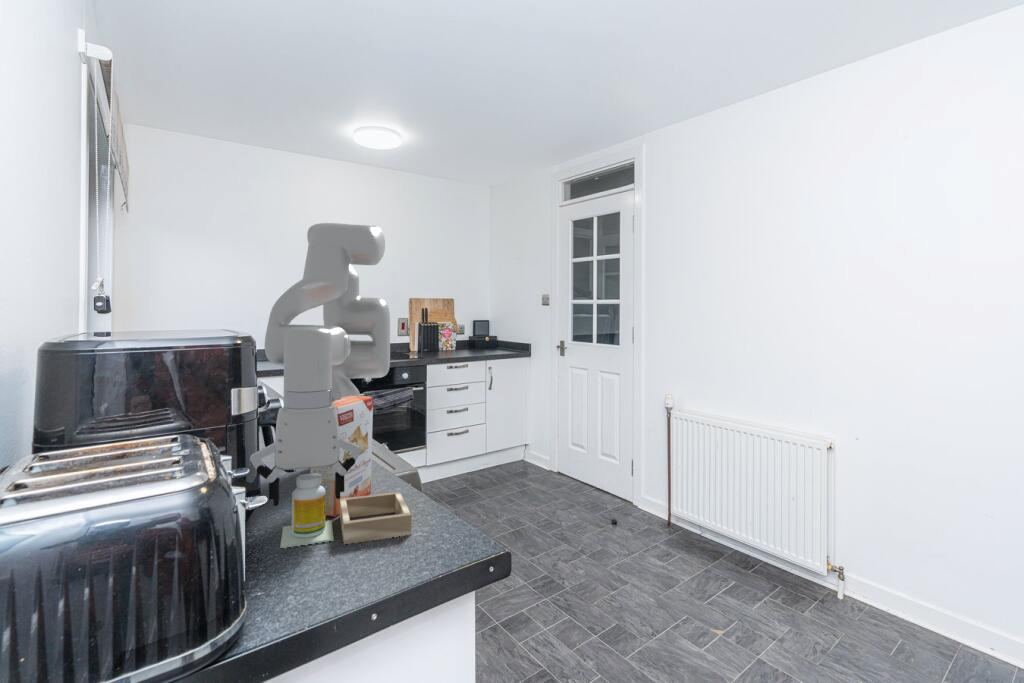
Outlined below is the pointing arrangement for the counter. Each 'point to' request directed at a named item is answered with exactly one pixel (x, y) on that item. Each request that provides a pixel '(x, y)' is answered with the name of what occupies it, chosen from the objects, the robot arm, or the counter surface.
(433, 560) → the counter surface
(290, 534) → the green mat
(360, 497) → the birch box
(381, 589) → the counter surface
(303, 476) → the supplement bottle
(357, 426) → the cracker box
